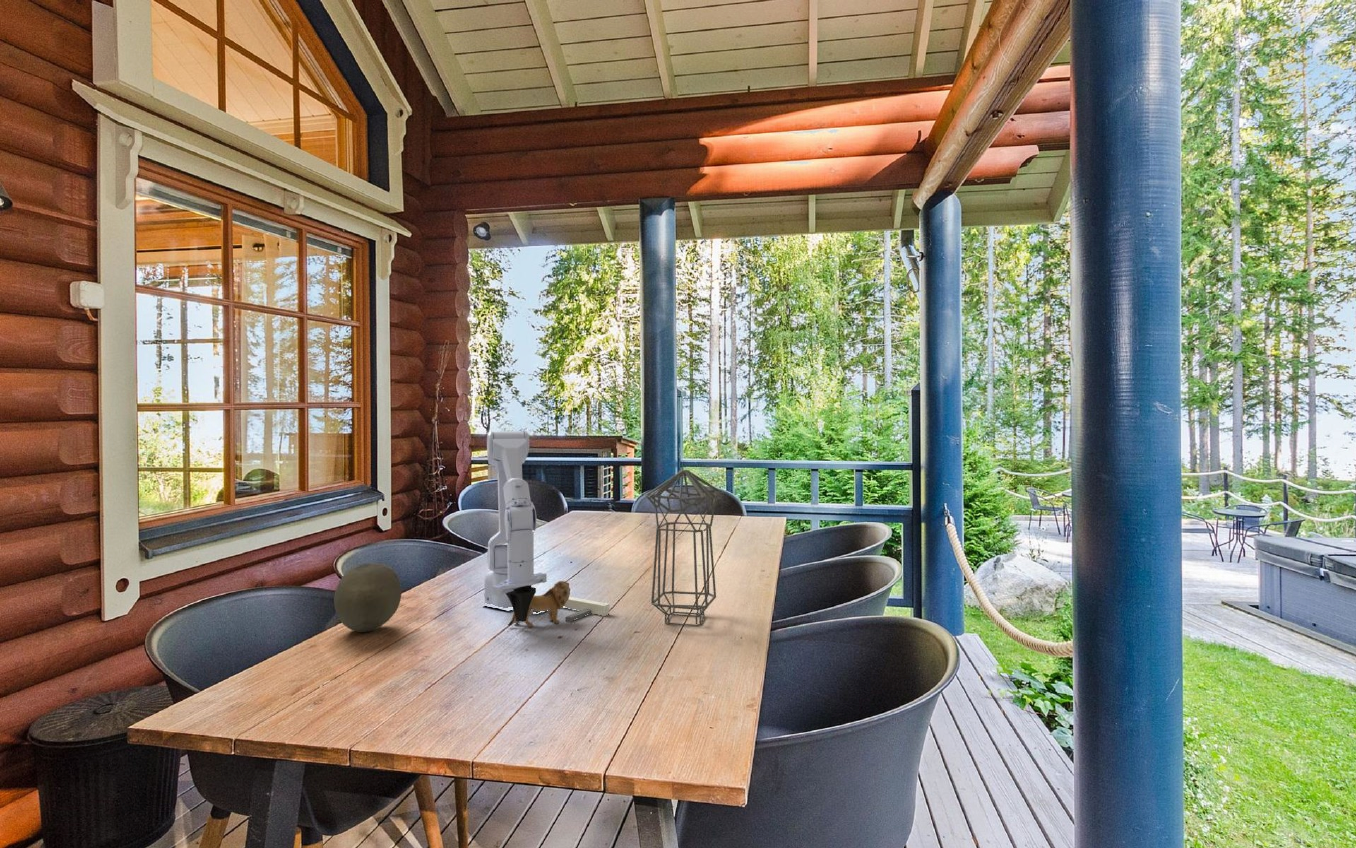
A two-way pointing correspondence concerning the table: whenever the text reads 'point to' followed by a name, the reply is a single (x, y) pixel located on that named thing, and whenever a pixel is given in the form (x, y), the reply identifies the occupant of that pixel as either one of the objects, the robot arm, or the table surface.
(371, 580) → the cantaloupe
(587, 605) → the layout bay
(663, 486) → the geometric lantern
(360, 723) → the table surface
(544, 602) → the lion figurine
